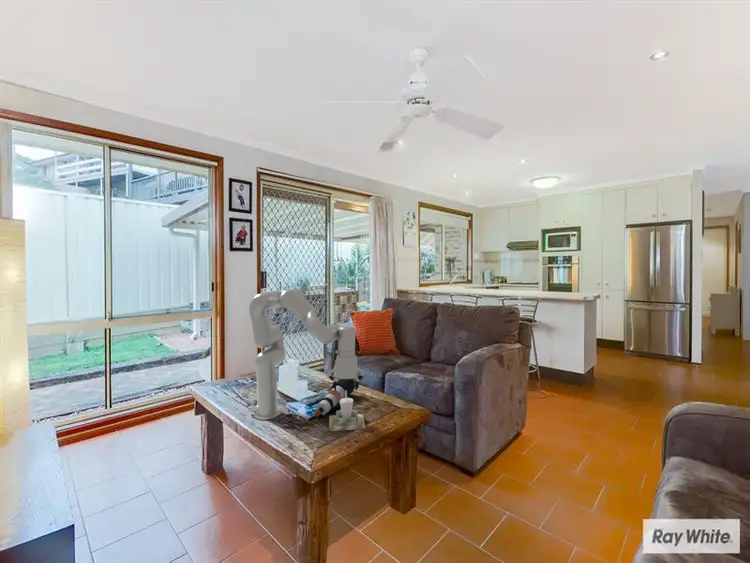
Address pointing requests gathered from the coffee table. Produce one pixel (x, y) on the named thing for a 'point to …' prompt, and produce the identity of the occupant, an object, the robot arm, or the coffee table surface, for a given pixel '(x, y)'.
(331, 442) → the coffee table surface
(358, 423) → the end holder
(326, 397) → the white black banded cylinder
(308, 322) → the robot arm
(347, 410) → the smoothie
